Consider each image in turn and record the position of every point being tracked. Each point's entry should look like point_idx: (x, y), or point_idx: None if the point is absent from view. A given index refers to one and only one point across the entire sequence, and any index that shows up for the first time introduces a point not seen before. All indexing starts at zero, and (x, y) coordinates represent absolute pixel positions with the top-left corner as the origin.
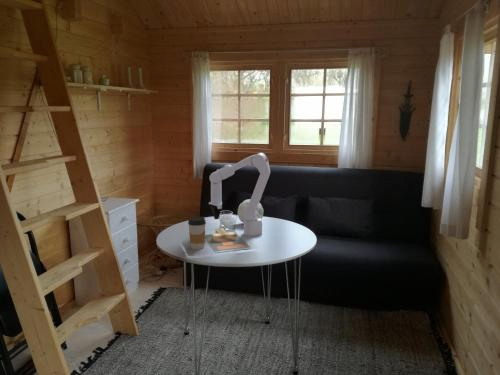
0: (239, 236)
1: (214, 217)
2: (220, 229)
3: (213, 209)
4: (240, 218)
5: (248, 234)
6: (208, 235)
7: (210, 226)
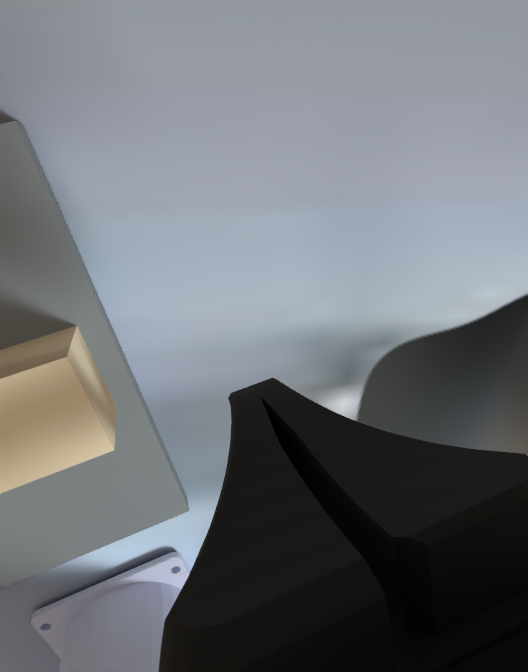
0: (19, 580)
1: (233, 407)
2: (46, 431)
3: (173, 611)
4: None
5: (62, 651)
6: (12, 230)
7: (472, 230)
